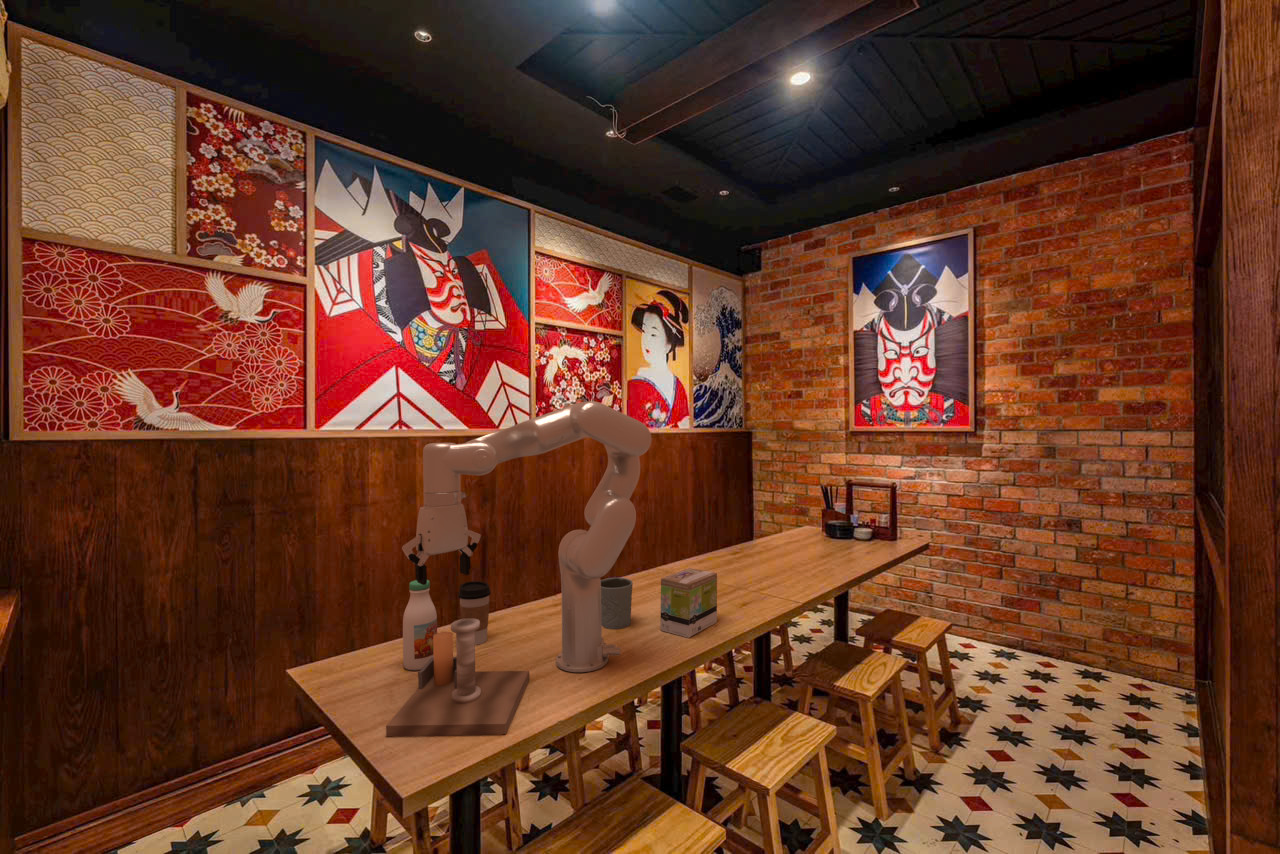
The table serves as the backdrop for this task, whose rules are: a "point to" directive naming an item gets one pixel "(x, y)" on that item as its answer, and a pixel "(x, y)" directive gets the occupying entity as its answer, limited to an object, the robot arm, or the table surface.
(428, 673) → the notch block
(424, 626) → the milk bottle
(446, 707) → the board
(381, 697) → the table surface
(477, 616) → the coffee cup
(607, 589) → the grey green embossed cup
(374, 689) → the table surface
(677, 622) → the tea box
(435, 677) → the plug
